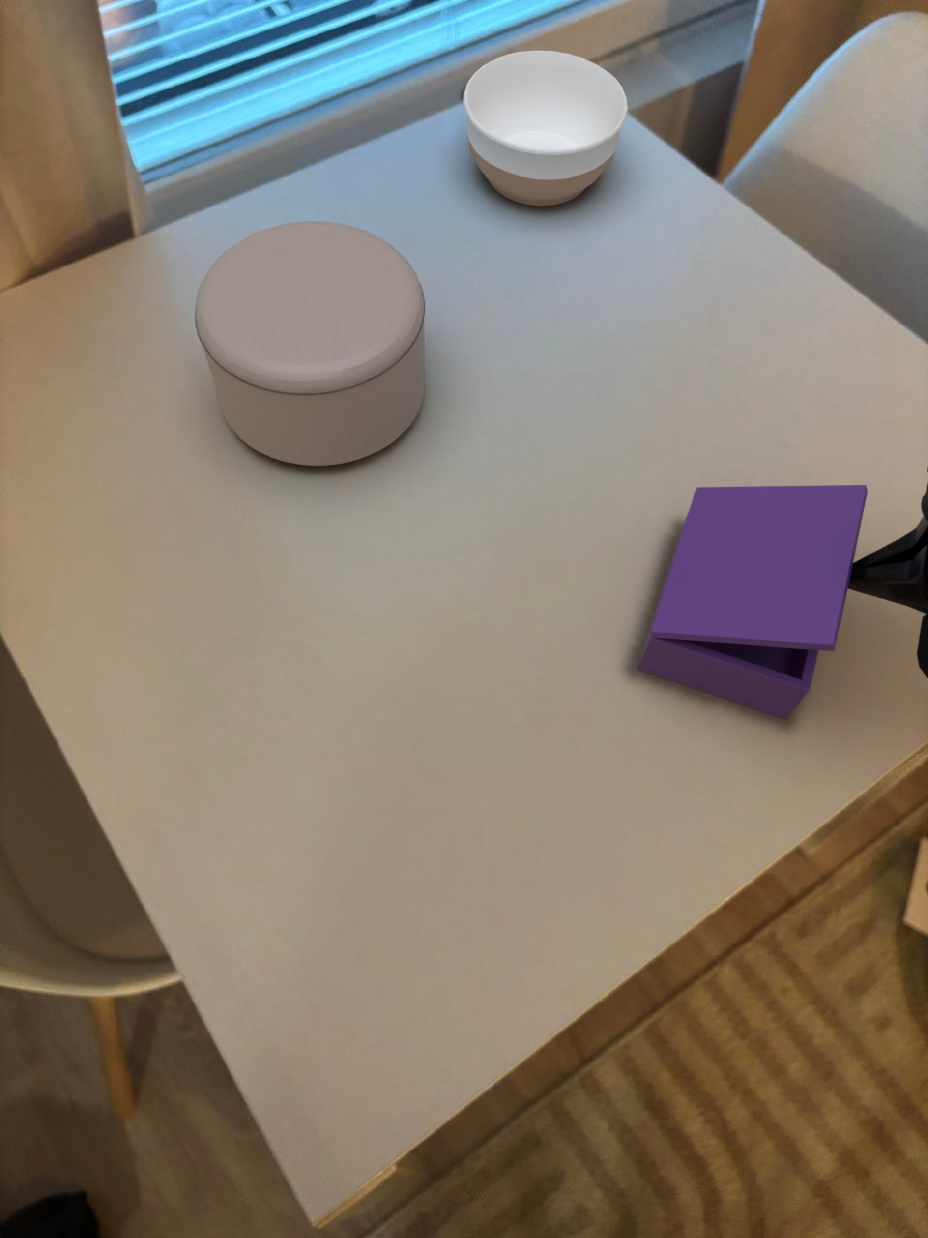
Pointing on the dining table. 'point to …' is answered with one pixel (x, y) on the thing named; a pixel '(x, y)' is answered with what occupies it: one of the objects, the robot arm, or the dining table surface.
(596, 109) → the bowl
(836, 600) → the lid
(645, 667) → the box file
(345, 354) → the container
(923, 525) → the robot arm
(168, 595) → the dining table surface
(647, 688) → the dining table surface
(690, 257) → the dining table surface
